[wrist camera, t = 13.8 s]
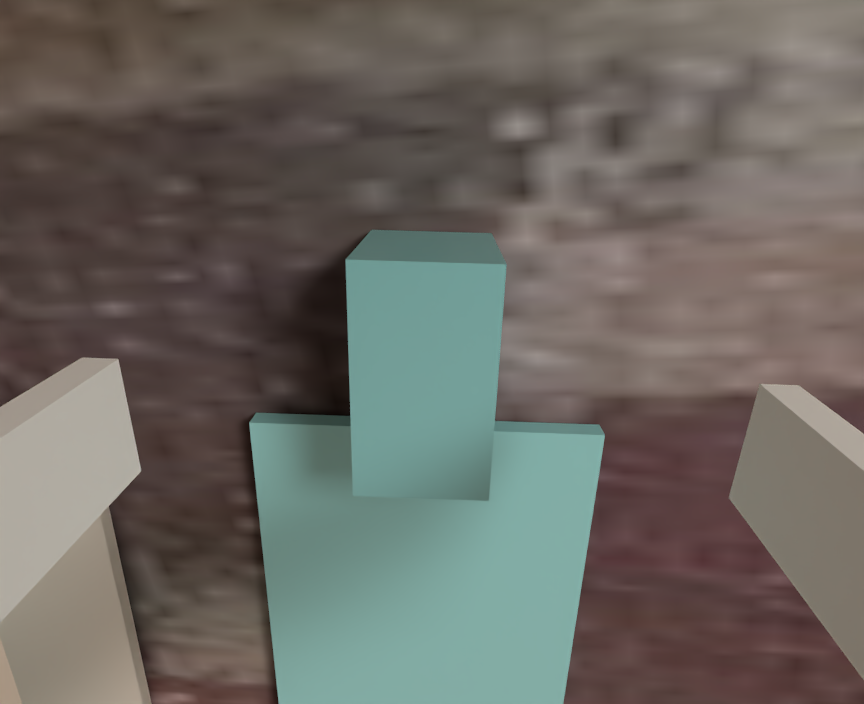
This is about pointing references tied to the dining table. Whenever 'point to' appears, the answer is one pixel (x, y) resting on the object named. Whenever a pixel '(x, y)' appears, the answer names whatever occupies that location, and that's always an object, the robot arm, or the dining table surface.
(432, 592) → the lid
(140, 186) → the dining table surface
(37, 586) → the tub
